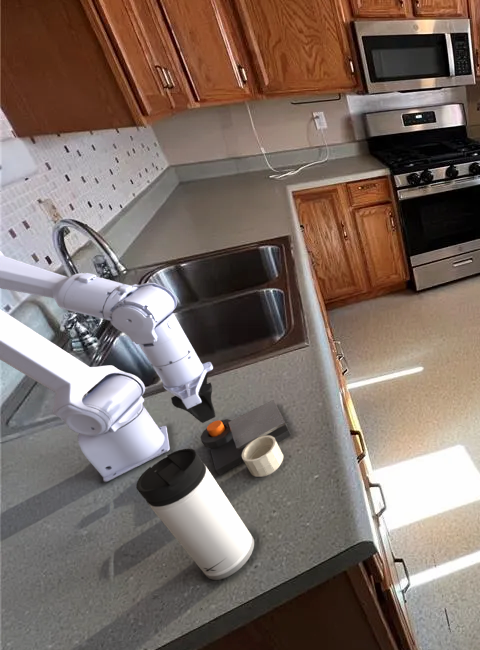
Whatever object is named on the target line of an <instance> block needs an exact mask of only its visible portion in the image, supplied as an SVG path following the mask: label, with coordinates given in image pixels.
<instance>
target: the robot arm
mask: <svg viewBox="0 0 480 650" xmlns="http://www.w3.org/2000/svg"><path fill="white" fill-rule="evenodd" d="M0 289H2V290H6V291H7V290H8V291H13V292H19V293H23V294H27V295H28V294H29V295H34V296H40V297H44V298H45V297H46V298H48V299H49V298H50V299H54V301H55V302H56V305H57V306H58V307H59V308H60V309H62V310H66V311H69V312H73V313H77V314H82V315H85V316H90V317H93V318H97V319H102V320H106V321H110V324H111V325H112V326H113V327H114V328H115V329H116V330H118V331H119V332H121V333H123V334H125V335H126V336H128V338H129V339H130V341H131V342H132V343H134V344H136V345H138V347H139V348H140V349H141V351H142V352H143V354H144V356H145V357H146V359H147V360H148V362H149V363H150V365H151V367H152V368H153V370H154V372H156V374H157V376H158V377H159V379H160V380H161V382H162V387H163V388H164V390H166V391H167V392H169V393H170V394H171V395H174V396H171V397H170V401H171V404H172V405H173V406H174V407H175V408H177V409H180V410H183V411H186V412H187V413H189V414H190V415H191V416H192V417H194V418H195V419H196V420H197V421H199V422H200V423H201V424H203V423H206V422H208V421H210V420H212V419H214V418H216V412H215V411H216V410H215V407H214V405H213V401H212V394H213V385H212V382H208V375H209V374H208V372H211V371H212V370H213V369H214V365H213V364H212V362H211V361H207V362H204V363H202V362H201V360H200V358H199V356H198V354H197V352H196V351H195V349H194V347H193V346H192V344H191V342H190V340H189V338H188V337H187V334H186V333H185V331H184V330H183V328H182V326H181V324H180V322H179V321H178V319H177V316H176V315H175V313H174V310H175V309H177V306H178V300H177V297H176V295H175V294H174V293H173V292H172V291H171V290H170V289H169V288H167V287H165V286H163V285H160V284H158V283H156V282H146V283H145V282H144V283H142V284H136V283H134V284H131V285H130V284H125V283H122V282H119V281H115V280H111V279H107V278H104V277H99V276H97V275H96V274H93V273H90V272H79V273H75V274H72V275H70V276H66V275H63V274H60V273H57V272H53V271H51V270H48V269H45V268H42V267H39V266H36V265H33V264H29V263H27V262H24V261H21V260H17V259H14V258H12V257H9V256H5V254H4V253H3V252H2V250H0ZM0 361H2V362H3V363H4V364H7V365H8V366H10V367H12V368H14V369H15V370H17V371H19V372H20V373H22V374H23V375H25V376H26V377H28V378H30V379H32V380H34V381H35V382H37V383H38V384H40V385H41V386H43V387H45V388H46V389H48V390H50V391H52V392H54V393H55V397H54V403H53V407H52V414H53V415H54V416H56V417H57V418H59V419H60V420H62V422H64V423H65V425H66V426H67V427H68V428H69V429H70V430H71V431H73V432H74V433H76V434H77V442H78V447H79V449H80V450H81V452H82V454H83V455H84V457H85V458H86V459H87V461H89V463H90V464H91V465H92V466H93V468H94V469H95V470H96V471H97V472H98V473H99V474H100V476H101V477H102V479H103V482H105V483H107V482H109V481H111V480H113V479H115V478H117V477H119V476H121V475H123V474H125V473H127V472H130V471H132V470H133V469H136V468H137V467H140V466H142V465H143V464H146V463H147V462H149V461H151V460H153V459H156V458H157V457H159V456H162V455H164V454H165V453H167V452H169V451H170V449H171V447H170V441H169V434H168V428H167V425H162V426H158V424H156V422H155V420H154V419H153V418H152V416H151V414H150V413H149V412H148V409H146V408H145V405H144V404H143V403H144V402H145V399H144V397H143V395H144V394H145V392H146V386H145V384H144V382H143V381H142V380H141V378H139V377H138V376H137V375H135V374H132V373H130V372H126V371H123V370H120V369H118V368H117V367H115V366H114V365H111V364H110V365H107V364H106V365H98V366H89V365H87V364H86V363H85V362H83V361H82V360H79V358H77V357H75V356H73V354H70V353H69V352H67V351H66V350H64V349H62V348H61V347H59V346H58V345H57V344H55V343H54V342H52V341H51V340H49V339H47V338H46V337H45V336H43V335H41V334H39V333H38V332H37V331H35V330H33V329H32V328H31V327H29V326H28V325H26V324H24V323H22V322H21V321H19V320H18V319H16V318H15V317H13V316H12V315H10V314H8V312H6V311H4V310H2V309H0ZM90 390H91V391H90ZM89 391H90V392H89ZM88 392H89V393H88ZM87 393H88V394H87Z"/></svg>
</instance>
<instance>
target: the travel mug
mask: <svg viewBox="0 0 480 650" xmlns="http://www.w3.org/2000/svg"><path fill="white" fill-rule="evenodd" d="M135 487H136V490H137V492H138V493H139V495H141V496H142V498H143V499H145V501H146V503H147V505H148V506H149V507H150V508H151V510H152V511H153V512H154V513H155V515H156V516H157V517H158V518H159V520H160V521H161V522H162V523H163V525H164V526H165V527H166V528H167V529H168V530H169V532H170V533H171V534H172V536H173V537H174V538H175V539H176V541H177V542H178V543H179V544H180V545H181V547H182V548H183V549H184V550H185V552H186V553H187V554H188V556H189V557H190V558H191V559H192V560H193V562H194V563H195V564H196V565H197V566H198V568H199V569H200V570H201V571H202V573H203V574H204V575H205V576H206V577H207V579H210V580H211V581H212V580H213V581H218V580H223V579H226V578H229V577H230V576H232V575H234V574H235V573H237V572H238V571H240V569H242V567H244V565H246V563H247V562H248V560H250V557H251V556H252V553H253V551H254V549H255V539H254V537H253V536H252V534H251V532H250V530H248V528H247V526H246V525H245V523H244V521H243V520H242V519H241V517H240V515H239V514H238V512H237V511H236V509H235V508H234V507H233V505H232V503H231V502H230V500H229V499H228V497H227V496H226V494H225V492H223V489H222V488H221V487H220V485H219V484H218V482H217V480H216V479H215V477H214V476H213V475H212V473H211V471H209V469H208V467H207V466H206V464H205V463H204V462H203V461H202V459H201V457H200V456H199V454H198V453H197V451H196V450H195V449H193V448H182V449H178V450H176V451H173V452H171V453H169V454H167V455H166V456H165V457H164V458H162V459H161V460H159V461H157V462H156V463H155V464H153V465H152V466H149V467H148V468H147V469H145V471H143V472H142V474H141V475H140V476H139V478H138V480H137V482H136V485H135Z"/></svg>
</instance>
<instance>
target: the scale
mask: <svg viewBox="0 0 480 650" xmlns="http://www.w3.org/2000/svg"><path fill="white" fill-rule="evenodd" d="M232 420H233V419H229V418H226V419H220V421H221V422H222V423H223V425H224V427H225V431H224V432H223V433H222V434H220V435H218V436H216V437H211V436H210V434H209V432H208V431H207V427H206V428H205V429H204V430H203V431H202V433H201V435H200V437H199V438H200V442H201V443H202V445H203V446H204V447H205V448H207V449H209V450H210V453H211V458H212V461H213V465H214V470H215V472H216V473H217V475H218V476H221V475H223V474H224V473H226V472H228V471H230V470H231V469H233V468H235V467H237V466H239V465H241V464H242V463H245V462H244V461H243V459H242V452H243V450H244V448H245V447H246V446H247V445H246V446H245V447H243V448H241V449H239V450H238V449H237V447H236V444H235V441H234V438H233V435H232V432H231V429H230V426H229V423H228V422H230V421H232ZM291 435H292V434H291V432H290V430H289V427H288V426H287V424H285V425H283V426H282V427H280V428H278V429H276V430H274V431H272V432H270V433H269V434H267V435H265V436H272V437H274V438H275V440H276V442H277V444H279V442H281V441H283V440H285V439H287V438H289V437H291Z"/></svg>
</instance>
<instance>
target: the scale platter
mask: <svg viewBox="0 0 480 650" xmlns="http://www.w3.org/2000/svg"><path fill="white" fill-rule="evenodd" d="M231 420H232V421H230V422H228V423H229V426H230V429H231V432H232V435H233V438H234V441H235V444H236V447H237V449H238V450H239V449H241V448H243V447H245V446H246V445H248V444H249V443H250V442H251V441H253V440H255V439H257V438H259V437H262V436H265V435H267V434H269V433H270V432H272V431H274V430H276V429H278V428H280V427H282V426H283V425H285V424H286V422H285V419H284V417H283V415H282V414H281V411H280V410H279V407H278V406H277V403H276V401H275V399H272V400H270V401H267V402H266V403H264V404H262V405H260V406H257V407H256V408H254V409H251V410H250V411H248V412H246V413H244V414H242V415H240V416H238V417H236V418H234V419H231ZM286 425H287V424H286Z"/></svg>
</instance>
